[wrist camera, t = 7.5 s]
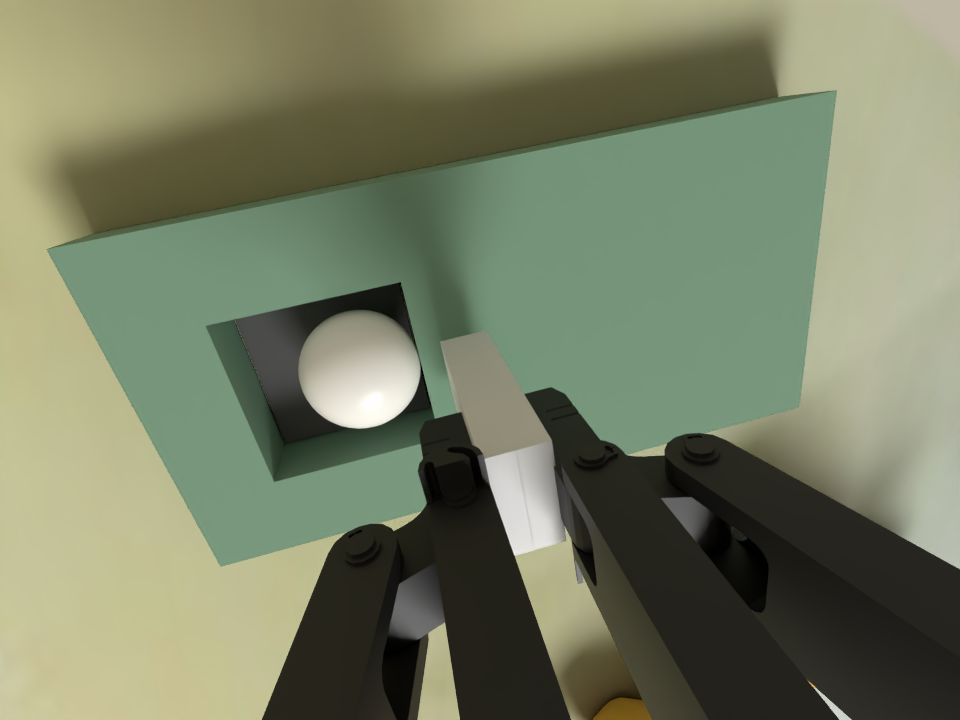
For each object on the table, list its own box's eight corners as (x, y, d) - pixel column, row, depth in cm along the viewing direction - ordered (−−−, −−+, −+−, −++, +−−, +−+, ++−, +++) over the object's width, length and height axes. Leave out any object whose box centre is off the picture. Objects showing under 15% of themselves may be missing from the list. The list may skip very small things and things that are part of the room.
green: (779, 96, 18) (836, 90, 16) (757, 381, 23) (798, 407, 21) (92, 233, 16) (46, 249, 13) (236, 521, 21) (220, 566, 19)
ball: (372, 284, 18) (427, 305, 15) (399, 377, 20) (452, 412, 17) (265, 323, 17) (303, 356, 14) (305, 422, 18) (346, 470, 15)
